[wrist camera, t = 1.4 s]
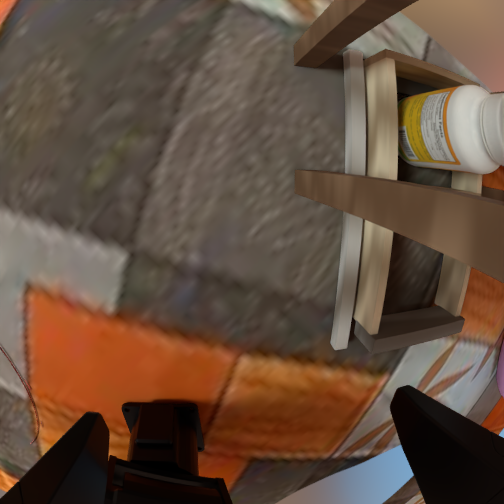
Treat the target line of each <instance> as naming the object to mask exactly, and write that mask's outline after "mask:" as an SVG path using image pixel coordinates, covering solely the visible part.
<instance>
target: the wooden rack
mask: <svg viewBox="0 0 504 504" xmlns="http://www.w3.org/2000/svg"><path fill="white" fill-rule="evenodd" d="M363 66H364V83H365V111H366V163H365V176H370V177H377V178H384V179H391V180H397V169H398V109H397V88H396V76H398V77H401V78H405V79H408V80H412V81H415V82H419V83H422V84H425V85H428V86H431V87H434V88H437V89H440V90H441V89H446V88H452V87H457V86H463V85H476V86H479V87H480V84H478V83H475V82H473V81H471V80H469V79H467V78H465V77H462V76H460V75H458V74H455V73H453V72H451V71H448V70H446V69H443V68H441V67H438V66H436V65H433V64H430V63H427V62H425V61H422V60H419V59H416V58H413V57H410V56H407V55H404V54H401V53H398V52H394V51H391V50H387V49H385V50H383V51H381V52H379V53H377V54H375V55H373V56H371V57H369V58H367V59H365V60H364V61H363ZM428 186H429V185H428ZM433 187H438V186H433ZM438 188H444V189H449V190H454V191H459V192H464V193H468V194H473V195H478V196H481V190H482V174H474V173H467V172H460V171H452V184H451V188H447V187H438ZM392 240H393V231H391V230H389V229H386V228H384V227H381V226H379V225H377V224H374V223H372V222H369V221H367V220H364V219H363V224H362V237H361V248H360V258H359V268H358V276H357V285H356V293H355V300H354V307H353V314H352V317H353V318H354V319H355V320H356V324H355V330H354V334H355V335H356V336H357V338H358V339H359V340H360V341H361V342H362V344H363V345H364V346H365V347H366V348H367V350H368V351H369V352H370V353H371V354H377V353H382V352H386V351H391V350H395V349H399V348H404V347H408V346H412V345H416V344H420V343H424V342H427V341H431V340H435V339H438V338H442V337H446V336H449V335H452V334H456V333H459V332H461V331H462V327H463V324H464V321H465V319H464V318H463V317H461V316H460V313H461V309H462V306H463V302H464V298H465V293H466V289H467V285H468V280H469V276H470V271H471V266H468V265H466V264H464V263H462V262H460V261H458V260H456V259H454V258H452V257H450V256H447V255H445V254H444V256H443V262H442V268H441V274H440V279H439V284H438V289H437V293H436V298H435V302H434V303H435V304H436V305H438V306H434V307H429V308H423V309H418V310H413V311H407V312H401V313H395V314H389V315H383V316H381V314H382V309H383V303H384V297H385V291H386V285H387V278H388V271H389V264H390V257H391V248H392Z"/></svg>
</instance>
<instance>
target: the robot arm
mask: <svg viewBox="0 0 504 504" xmlns="http://www.w3.org/2000/svg"><path fill="white" fill-rule="evenodd" d="M127 408H128V409H127ZM390 411H391V414H392V417H393V420H394V424H395V427H396V430H397V433H398V436H399V440H400V443H401V445H402V448H403V451H404V453H405V455H406V458H407V460H408V462H409V465H410V467H411V469H412V472H413V474H414V476H415V479H416V481H417V483H418V486H419V488H420V491H421V493H422V496H423V498H424V500H425V503H426V504H504V438H503V437H501V436H499V435H497V434H495V433H493V432H490V431H489V430H488V429H486V428H484V427H482V426H480V425H479V424H477V423H475V422H473V421H471V420H470V419H468V418H466V417H464V416H462V415H461V414H459V413H457V412H455V411H454V410H452V409H450V408H448V407H446V406H445V405H443V404H441V403H439V402H438V401H436V400H434V399H433V398H431V397H429V396H427V395H426V394H424V393H422V392H420V391H419V390H417V389H415V388H414V387H412V386H410V385H406V386H402V387H399V388H398V389H397V390H396V392H395V394H394V397H393V399H392V401H391V404H390ZM122 412H123V415H124V417H125V420H126V423H127V425H128V428H129V431H130V433H131V437H130V443H129V449H128V455H127V461H126V460H122V459H119V458H117V457H116V456H112V455H110V457H109V461H108V453H109V429H108V427H107V425H106V423H105V421H104V419H103V417H102V415H101V414H100V413H98V412H86V413H85V414H84V415H83V416H82V417H81V418H80V419H79V420H78V421H77V422H76V423H75V424H74V425H73V426H72V427H71V428H70V429H69V430H68V431H67V432H66V433H65V434H64V435H63V436H62V437H61V438H60V439H59V440H58V441H57V442H56V443H55V444H54V445H53V446H52V447H51V448H50V449H49V450H48V451H47V452H46V453H45V454H44V455H43V456H42V458H41V459H40V460H39V461H38V462H37V463H36V464H35V465H34V466H33V467H32V468H31V469H30V470H29V471H28V472H27V473H26V474H25V475H24V476H23V477H22V478H21V479H20V480H19V482H17V483H16V484H15V485H14V486H13V487H12V488H11V489H10V490H9V491H8V492H7V493H6V494H5V495H4V496H3V497H2V498H0V504H233V503H232V501H231V498H230V495H229V493H228V490H227V487H226V485H225V482H224V479H223V478H208V477H201V476H199V472H198V452H201V451H203V450H204V441H203V436H202V430H201V424H200V418H199V412H198V407H197V405H196V404H193V403H185V404H140V403H124V404H123V405H122Z"/></svg>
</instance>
